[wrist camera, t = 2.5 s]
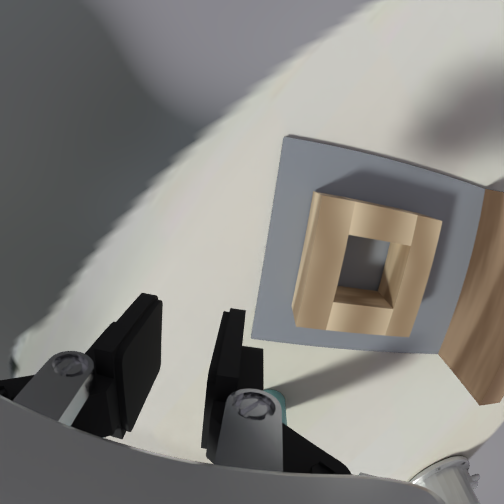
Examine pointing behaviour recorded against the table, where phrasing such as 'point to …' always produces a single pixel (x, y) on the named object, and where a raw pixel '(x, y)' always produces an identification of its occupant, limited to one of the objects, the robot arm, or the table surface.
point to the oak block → (394, 274)
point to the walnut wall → (481, 311)
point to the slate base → (363, 242)
